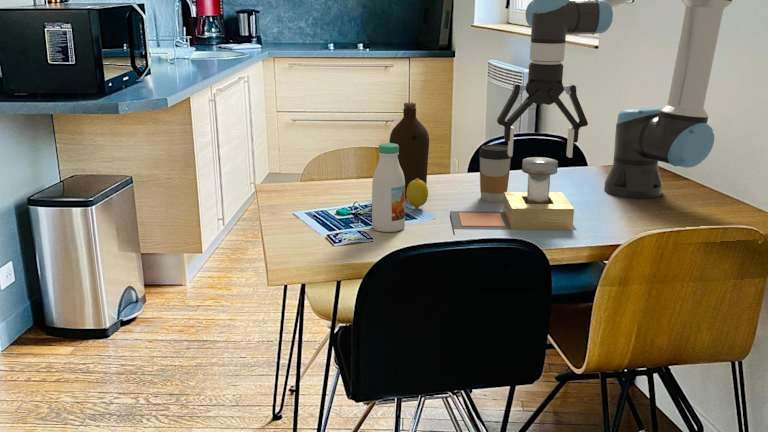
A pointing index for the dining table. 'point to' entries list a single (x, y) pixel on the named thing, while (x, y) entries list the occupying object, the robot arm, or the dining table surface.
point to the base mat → (479, 220)
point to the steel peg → (539, 178)
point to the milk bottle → (388, 191)
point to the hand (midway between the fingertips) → (539, 155)
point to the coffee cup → (494, 172)
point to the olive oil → (411, 145)
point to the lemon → (417, 193)
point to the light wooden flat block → (538, 212)
